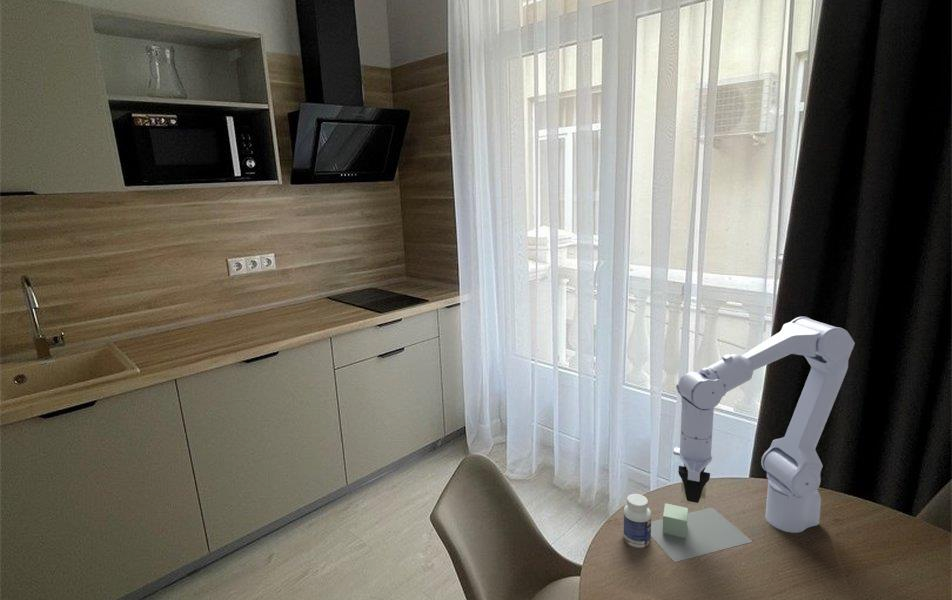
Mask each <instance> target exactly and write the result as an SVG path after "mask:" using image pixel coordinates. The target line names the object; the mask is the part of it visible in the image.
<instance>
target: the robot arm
mask: <svg viewBox="0 0 952 600" xmlns="http://www.w3.org/2000/svg"><path fill="white" fill-rule="evenodd" d="M855 344H856V343H855V341H854V339H853V337H852V336H851V335H850V333H849V332H848V330H846V329H844V328H842V327H837V326H834V325H830V324H828V323H824V322H820V321H817V320H814V319H811V318H810V317H808V316H798V317H795V318H794V319H792V320H791V321H789V322H786V323H784V324H783V325H782V326H781V329H780V331H779V332H777V333H775V334H774V335H772V336H771V337H769V338H768V339H766V340H764V341H763V342H761V343H759V344H757V346H755V347H753V348H752V349H750V350H748V351H746V352H745V353H744V354H742V355H741V354H740V355H739V354H736V353H731V354H729V353H727V354H725V355H722V357H721V359H720V360H718V361H716V362H714V363H712V364H711V365H708V366H707V367H706V366H705V367H703V368H701V369H700V370H699V371H689V372H687V373H684V375H682V376H681V378H680V379H679V382H678V383H676V385H675V386H676V387H675V388H676V391H677V393H678V394H679V396H680V397H681V401H680V402H681V416H680V435H679V436H680V439H679V442H680V443H679V447H678V446H675V447H673V452H672V453H673V455H674V456H678V457H679V458H680V460H681V461H682V463H683V465H684V466H682V465H678V471H677V473H678V476H679V477H680V478H681V482H682V481H683V484H684V488H685V494H686V499H687V501H690V502H695V503H698V502H699V500H700V497H701V493H702V490H703V488H704V486H705V484H706V485H707V483H708V482H709V481H710V478H711V472H707V471H706V472H705V469H706V468H707V466H708V465H709V464H710V463H711V462H712V461H713V455H712V444H713V428H714V427H713V425H714V413H715V410H714V409H715V407H717V406H718V405H719V403H720V402H721V400H722V398H723V397H724V396H726V394H727V393H729V392H730V391H731V390H734V389H736V388H737V387H739V386H742V385H743V384H745V383H747V382H749V381H751V380H752V378H753V374H754V371H756V370H759V369H760V368H762V367H765V366H767V365H769V364H771V363H774V362H776V361H779V360H781V359H783V358H785V357H787V356H790V355H796V356H797V355H798V356H803V357H804V358H805V359H806V361H807V362H808V364H809V365H810V370H809V373H808V376H807V378H806V380H805V383H804V387H803V389H802V391H801V394H800V396H799V398H798V401H797V403H796V406H795V408H794V411H793V414H792V417H791V420H790V422H789V424H788V427H787V429H786V432H785V434H784V436H783V437H780V438H775V439H773V440H772V442H771V444H770V447H769V448H768V449H767V450H766V451H765V452H764V453H763V455H762V456H761V461H760V462H761V463H760V464H761V467H762V469H763V470H764V471H765V472H766V478H767V492H766V493H767V494H766V504H765V516H764V517H765V520H766V522H767V523H768V524H770V525H771V526H772V527H774V528H775V529H778V530H779V531H783V532H785V533H792V534H793V533H802V532H804V531H805V530H806V529H808V528H811V527H812V528H813V527H815V526H818V525H819V524H820V514H821V507H822V506H821V505H822V498H821V494H820V492H819V490H818V489H819V488H820V485H821V482H822V481H821V480H822V479H821V472H822V469H823V467H824V466H823V462H822V461H821V459H820V456H819V455H818V453H817V450H816V448H817V445H818V443H819V442H820V441H819V440H820V438H821V436H822V433H823V431H824V428H825V425H826V424H827V421H828V418H829V416H830V414H831V411H832V409H833V406H834V403H835V402H836V399H837V397H838V394H839V391H840V389H841V387H842V384H843V382H844V378H845V376H846V374H847V371H848V369H849V359H850V357H851V354H852V351H853V350H854V347H855Z"/></svg>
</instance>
